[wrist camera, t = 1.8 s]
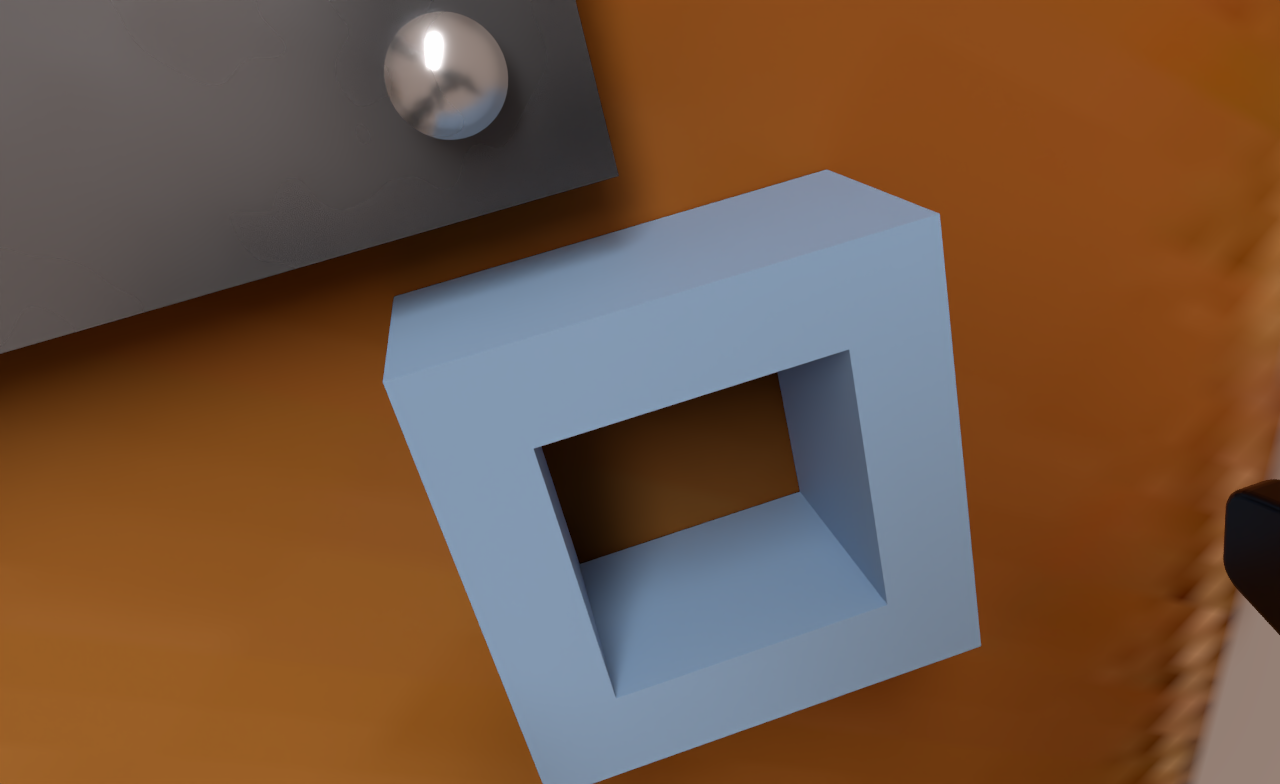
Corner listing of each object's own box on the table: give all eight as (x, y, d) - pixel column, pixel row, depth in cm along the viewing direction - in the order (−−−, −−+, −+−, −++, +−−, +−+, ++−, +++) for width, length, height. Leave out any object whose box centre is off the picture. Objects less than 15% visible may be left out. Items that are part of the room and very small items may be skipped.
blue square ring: (880, 530, 15) (981, 645, 12) (525, 649, 14) (548, 799, 11) (826, 169, 12) (940, 214, 10) (394, 296, 12) (383, 381, 9)
